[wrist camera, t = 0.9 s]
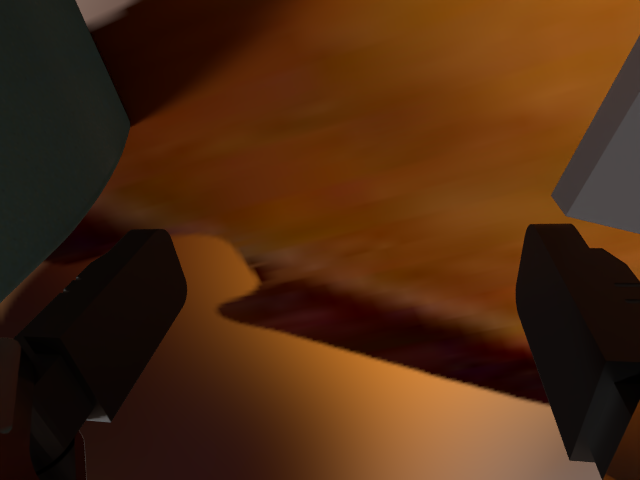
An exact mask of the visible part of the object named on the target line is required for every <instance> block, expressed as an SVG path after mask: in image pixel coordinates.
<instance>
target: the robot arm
mask: <svg viewBox="0 0 640 480" xmlns="http://www.w3.org/2000/svg"><path fill="white" fill-rule="evenodd" d="M186 295H187V284H186V279H185V277H184V274H183V271H182V268H181V265H180V262H179V259H178V257H177V254H176V251H175V248H174V245H173V242H172V239H171V237H170V235H169V233H168V232H167V231H166V230H164V229H134V230H130V231H129V232H128V233H127V234H126V235H125V236H124V237H123V238H122V239H121V240H120V241H119V242H118V243H117V244H116V245H115V246H114V247H113V248H112V249H111V250H110V251H109V252H108V253H106V254H104V255H103V256H101V257H99V258H98V259H96V260H95V261H93V262H91V263H90V264H89V265H88V266H87V267H86V268H85V269H84V270H83V271H82V272H81V273H80V274H79V275H78V276H77V277H76V280H73V281H72V282H71V283H70V284H69V285H68V286H67V287H66V288H65V289H64V292H63V293H59V294H58V295H57V297H55V298H54V299H53V300H52V301H51V302H50V303H49V304H48V305H47V306H46V307H45V308H44V309H43V310H42V311H41V312H40V313H39V314H38V315H37V316H36V317H35V318H34V319H33V320H32V321H31V322H30V323H29V324H28V325H27V326H26V327H25V328H24V329H23V330H22V331H21V332H20V333H19V334H18V335H17V336H15V338H14V339H11V338H0V480H86V461H85V444H84V438H83V436H82V434H81V433H80V431H79V430H80V428H81V427H82V425H83V424H84V422H85V421H86V420H89V421H102V422H111V421H112V420H113V418H114V416H115V415H116V413H117V412H118V410H119V409H120V407H121V405H122V404H123V402H124V400H125V399H126V397H127V396H128V394H129V392H130V391H131V389H132V388H133V386H134V384H135V383H136V381H137V379H138V378H139V376H140V375H141V373H142V372H143V370H144V368H145V367H146V365H147V363H148V362H149V360H150V359H151V357H152V356H153V354H154V352H155V351H156V349H157V347H158V346H159V344H160V343H161V341H162V339H163V338H164V336H165V335H166V333H167V331H168V330H169V328H170V327H171V325H172V323H173V322H174V320H175V318H176V317H177V315H178V314H179V312H180V310H181V309H182V307H183V305H184V303H185V300H186ZM516 306H517V311H518V315H519V318H520V320H521V323H522V326H523V329H524V332H525V335H526V338H527V340H528V343H529V346H530V349H531V352H532V355H533V358H534V360H535V363H536V366H537V369H538V372H539V375H540V378H541V380H542V383H543V386H544V389H545V392H546V395H547V397H548V400H549V403H550V406H551V409H552V412H553V415H554V417H555V420H556V423H557V426H558V429H559V432H560V434H561V437H562V440H563V443H564V446H565V449H566V451H567V455H568V457H569V460H571V461H584V462H595V463H596V466H597V468H598V471H599V473H600V476H601V478H602V480H640V281H639V280H638V279H637V277H636V276H635V275H634V273H633V272H632V271H631V270H630V268H629V267H628V266H627V264H625V263H624V262H622V261H621V260H619V259H618V258H616V257H615V256H613V255H612V254H610V253H609V252H607V251H605V250H604V249H602V248H589V247H588V245H587V244H586V242H585V241H584V239H583V238H582V236H581V235H580V234H579V232H578V231H577V229H576V228H575V226H574V225H572V224H530V225H529V226H528V228H527V230H526V233H525V238H524V244H523V249H522V255H521V261H520V266H519V272H518V277H517V283H516Z"/></svg>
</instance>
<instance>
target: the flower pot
mask: <svg viewBox="0 0 640 480" xmlns="http://www.w3.org/2000/svg"><path fill="white" fill-rule="evenodd" d="M129 129H130V121H129V119H128V117H127V114H126V112H125V110H124V108H123V105H122V103H121V101H120V99H119V96H118V94H117V92H116V90H115V87H114V85H113V83H112V81H111V78H110V76H109V74H108V72H107V70H106V67H105V65H104V63H103V61H102V59H101V56H100V54H99V52H98V50H97V48H96V45H95V43H94V41H93V39H92V37H91V34H90V32H89V30H88V28H87V26H86V23H85V21H84V19H83V16H82V14H81V12H80V10H79V7H78V5H77V3H76V1H75V0H0V303H1V302H2V301H3V299H5V297H7V296H8V295H9V294H10V293H11V292H12V291H13V290H14V289H15V288H16V287H17V286H18V285H19V284H20V283H21V282H22V281H23V280H24V279H25V278H26V277H27V276H28V275H29V274H30V273H31V272H33V271H34V270H35V269H36V268H37V267H38V266H39V265H40V264H41V263H42V262H43V261H44V260H45V259H46V258H47V257H48V256H49V255H50V254H51V253H52V252H53V251H54V250H55V249H56V248H57V247H58V246H59V245H60V244H61V243H62V242H63V241H64V240H65V239H66V238H67V237H68V236H69V235H70V234H71V232H72V231H73V230H74V229H75V228H76V226H77V225H78V224H79V223H80V221H81V220H82V219H83V218H84V216H85V215H86V214H87V213H88V211H89V210H90V208H91V207H92V205H93V204H94V203H95V201H96V200H97V198H98V197H99V195H100V194H101V192H102V191H103V189H104V187H105V186H106V184H107V182H108V181H109V179H110V177H111V175H112V174H113V172H114V170H115V168H116V166H117V164H118V162H119V159H120V157H121V155H122V152H123V150H124V147H125V143H126V140H127V137H128V133H129Z"/></svg>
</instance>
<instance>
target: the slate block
mask: <svg viewBox="0 0 640 480" xmlns="http://www.w3.org/2000/svg"><path fill="white" fill-rule="evenodd" d="M551 196H552V198H553V199H554V200H555V202H556V203H557V204H558V206H559V207H560V209H561V210H562V211H563V213H564V214H565V216H568V217H572V218H576V219H580V220H585V221H589V222H593V223H597V224H601V225H605V226H609V227H614V228H618V229H622V230H626V231H630V232H634V233H639V234H640V36H639V37H638V39H637V41H636V43H635V45H634V46H633V48H632V50H631V52H630V54H629V55H628V57H627V59H626V61H625V63H624V64H623V66H622V68H621V70H620V72H619V73H618V75H617V77H616V79H615V81H614V83H613V84H612V86H611V88H610V90H609V92H608V93H607V95H606V97H605V99H604V101H603V102H602V104H601V106H600V108H599V110H598V111H597V113H596V115H595V117H594V119H593V120H592V122H591V124H590V126H589V128H588V129H587V131H586V133H585V135H584V137H583V139H582V140H581V142H580V144H579V146H578V148H577V149H576V151H575V153H574V155H573V157H572V158H571V160H570V162H569V164H568V166H567V167H566V169H565V171H564V173H563V175H562V176H561V178H560V180H559V182H558V184H557V185H556V187H555V189H554V191H553V193H552V195H551Z"/></svg>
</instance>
